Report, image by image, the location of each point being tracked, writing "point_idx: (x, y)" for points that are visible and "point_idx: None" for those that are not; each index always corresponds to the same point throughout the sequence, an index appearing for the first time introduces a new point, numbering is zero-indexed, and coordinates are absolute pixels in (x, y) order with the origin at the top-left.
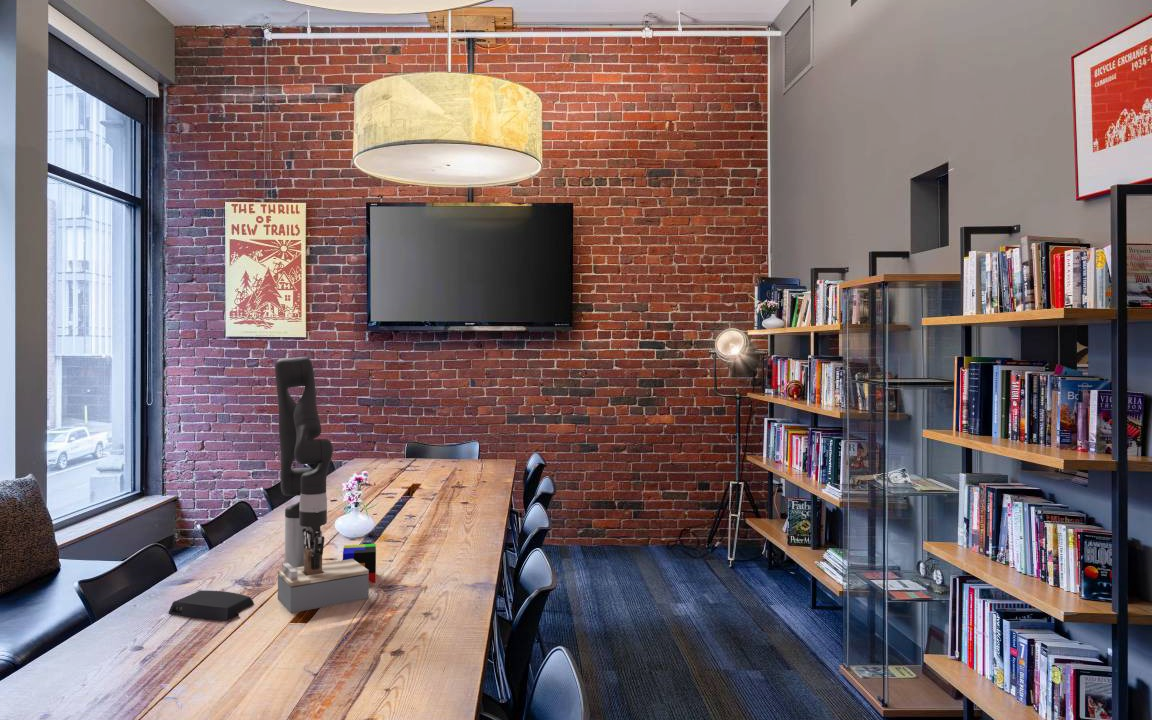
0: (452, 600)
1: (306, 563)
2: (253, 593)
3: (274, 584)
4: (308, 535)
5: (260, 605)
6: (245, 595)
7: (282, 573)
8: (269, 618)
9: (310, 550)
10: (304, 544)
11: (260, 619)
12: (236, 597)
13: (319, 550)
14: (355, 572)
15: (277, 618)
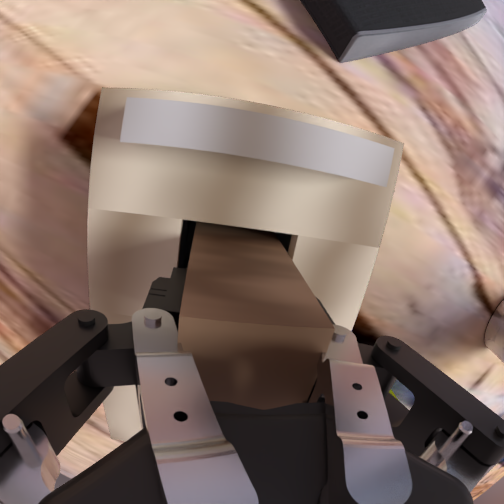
0: (63, 449)
1: (231, 263)
2: (455, 135)
3: (473, 220)
4: (166, 497)
5: (345, 82)
6: (379, 32)
7: (335, 129)
8: (185, 45)
9: (204, 348)
10: (402, 360)
11: (199, 21)
12: (374, 2)
13: (136, 395)
14: (104, 405)
15: (164, 66)
